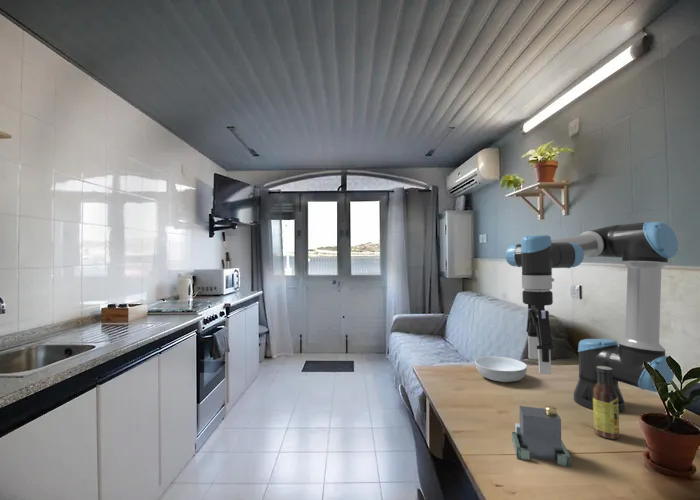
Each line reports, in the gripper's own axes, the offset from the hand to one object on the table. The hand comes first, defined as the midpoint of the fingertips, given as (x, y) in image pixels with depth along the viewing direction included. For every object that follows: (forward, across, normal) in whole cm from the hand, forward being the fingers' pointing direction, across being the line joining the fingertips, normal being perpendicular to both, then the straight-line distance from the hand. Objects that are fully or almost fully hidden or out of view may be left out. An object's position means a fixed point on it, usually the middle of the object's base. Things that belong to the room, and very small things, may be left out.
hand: (539, 365), depth 98 cm
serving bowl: (+24, +56, +4) cm, 61 cm away
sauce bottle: (+23, +13, -20) cm, 33 cm away
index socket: (+23, -3, +1) cm, 23 cm away
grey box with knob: (+23, -3, +1) cm, 23 cm away
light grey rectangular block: (+23, +3, +2) cm, 23 cm away
